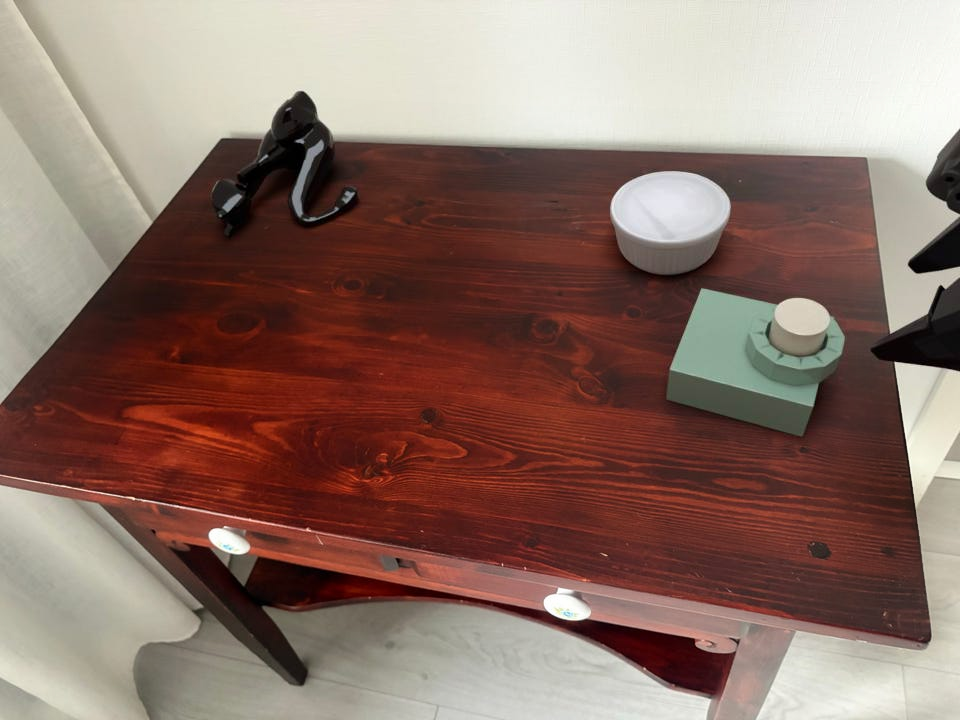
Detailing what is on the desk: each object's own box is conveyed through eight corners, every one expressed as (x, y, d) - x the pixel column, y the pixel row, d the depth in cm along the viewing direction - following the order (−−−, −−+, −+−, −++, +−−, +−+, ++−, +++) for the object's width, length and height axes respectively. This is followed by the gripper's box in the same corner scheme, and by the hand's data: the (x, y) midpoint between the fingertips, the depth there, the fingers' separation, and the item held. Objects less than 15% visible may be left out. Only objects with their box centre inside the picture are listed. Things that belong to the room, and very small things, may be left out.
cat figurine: (391, 185, 93) (301, 292, 87) (301, 135, 95) (208, 235, 89) (386, 131, 84) (285, 246, 78) (287, 77, 86) (181, 183, 80)
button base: (835, 351, 65) (853, 302, 60) (815, 441, 59) (833, 393, 55) (696, 319, 69) (703, 270, 65) (665, 399, 64) (671, 352, 59)
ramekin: (589, 261, 76) (589, 220, 72) (641, 200, 81) (643, 159, 78) (693, 298, 71) (699, 256, 67) (741, 230, 76) (749, 187, 73)
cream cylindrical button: (826, 327, 60) (834, 304, 58) (817, 363, 57) (825, 340, 55) (774, 315, 61) (780, 292, 59) (763, 350, 59) (769, 327, 57)
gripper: (1087, -1, 42) (854, 153, 55) (1024, 183, 32) (762, 315, 46) (1215, 140, 43) (956, 258, 56) (1189, 357, 34) (886, 436, 47)
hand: (894, 308), depth 51 cm, fingers open, 9 cm apart
